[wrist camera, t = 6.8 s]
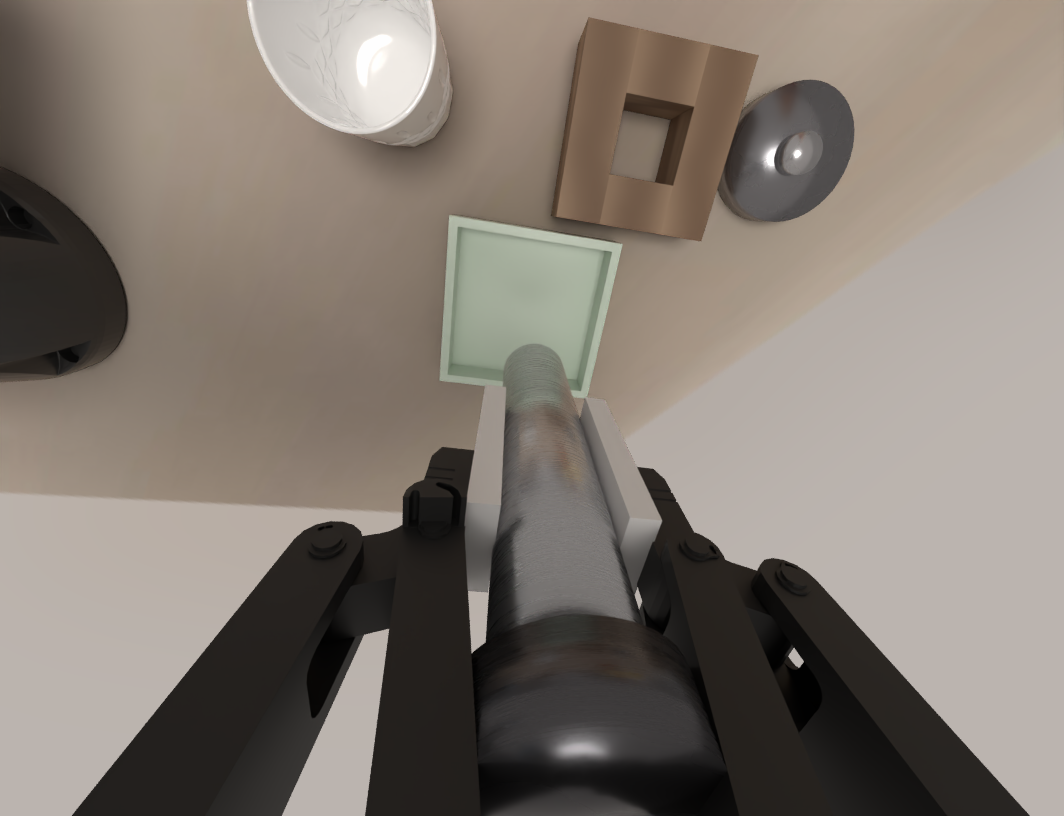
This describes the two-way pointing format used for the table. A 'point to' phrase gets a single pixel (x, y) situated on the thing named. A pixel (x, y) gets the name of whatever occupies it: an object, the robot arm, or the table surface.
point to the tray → (523, 299)
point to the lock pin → (575, 639)
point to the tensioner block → (658, 90)
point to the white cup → (359, 64)
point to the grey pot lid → (787, 152)
